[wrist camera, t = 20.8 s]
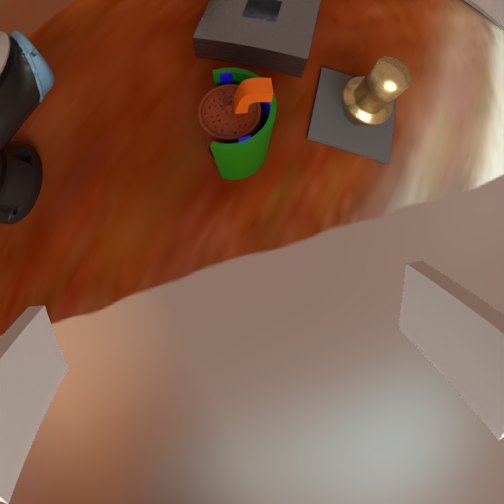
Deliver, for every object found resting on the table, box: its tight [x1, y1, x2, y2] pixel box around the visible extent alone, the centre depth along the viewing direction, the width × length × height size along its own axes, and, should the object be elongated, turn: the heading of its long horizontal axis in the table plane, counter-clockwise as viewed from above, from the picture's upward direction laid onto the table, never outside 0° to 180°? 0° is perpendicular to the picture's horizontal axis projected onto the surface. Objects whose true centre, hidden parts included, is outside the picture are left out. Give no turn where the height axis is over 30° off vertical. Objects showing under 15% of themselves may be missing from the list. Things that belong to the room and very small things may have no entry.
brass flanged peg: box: [342, 57, 411, 126], centre depth 40 cm, size 8×8×15 cm
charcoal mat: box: [307, 67, 396, 164], centre depth 48 cm, size 14×14×1 cm
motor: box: [198, 68, 276, 180], centre depth 38 cm, size 10×9×20 cm
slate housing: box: [193, 0, 321, 77], centre depth 44 cm, size 18×18×6 cm
